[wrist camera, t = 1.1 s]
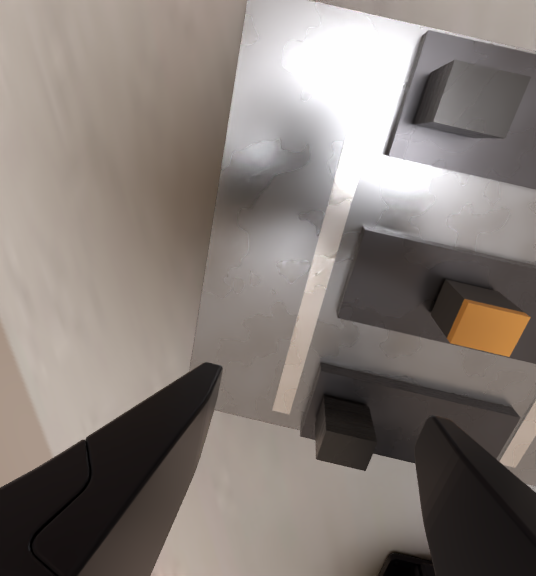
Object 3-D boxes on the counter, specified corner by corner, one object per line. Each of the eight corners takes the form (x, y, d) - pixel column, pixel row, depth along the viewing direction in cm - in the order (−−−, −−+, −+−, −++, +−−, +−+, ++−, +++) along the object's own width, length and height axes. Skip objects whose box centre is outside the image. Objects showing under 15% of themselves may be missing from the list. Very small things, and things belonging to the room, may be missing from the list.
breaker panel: (575, 477, 23) (642, 562, 18) (191, 387, 23) (163, 448, 19) (824, 128, 16) (1044, 125, 11) (254, -1, 16) (232, -57, 11)
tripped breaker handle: (481, 326, 17) (509, 357, 15) (430, 314, 18) (450, 343, 15) (498, 291, 17) (530, 317, 14) (445, 279, 17) (468, 303, 14)
